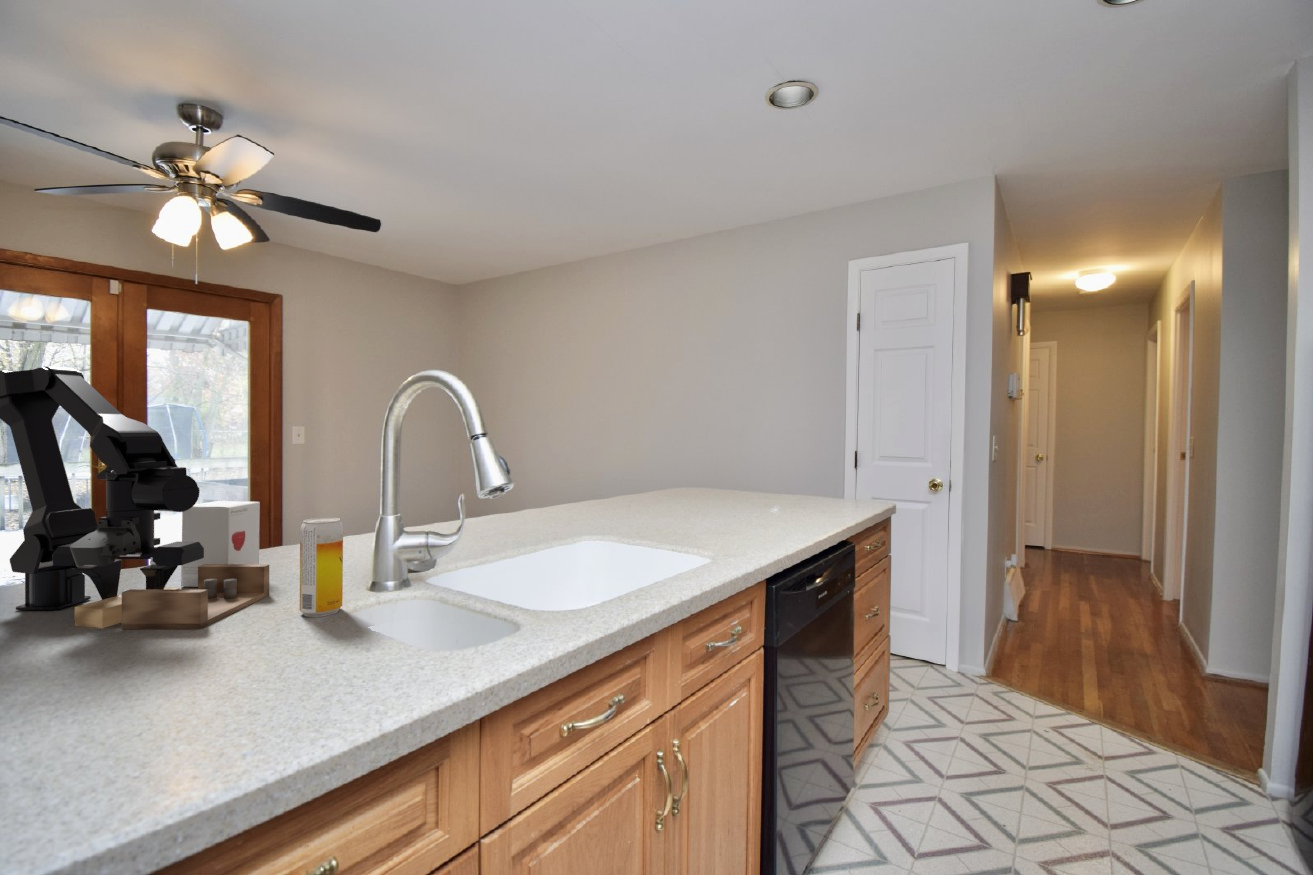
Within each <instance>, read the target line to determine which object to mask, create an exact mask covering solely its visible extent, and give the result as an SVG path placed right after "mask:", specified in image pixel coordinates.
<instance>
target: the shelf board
mask: <svg viewBox="0 0 1313 875" xmlns="http://www.w3.org/2000/svg"><path fill="white" fill-rule="evenodd" d="M164 589H170V590H181V589H180V587H166V586H165V587H164ZM118 623H119V624H122V594H120V595H117V596H115V597H111V598H108V599H104V600H102V599H101V600H97V601H91V602H88V603H85V604H81V605H77V606H74V626H75V627H84V628H93V627H96V628H95V629H105V628H108V627H111V626H115V625H119V624H118ZM97 627H98V628H97ZM104 627H105V628H104Z"/></svg>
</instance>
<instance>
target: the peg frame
mask: <svg viewBox="0 0 1313 875" xmlns="http://www.w3.org/2000/svg"><path fill="white" fill-rule="evenodd" d="M121 595H122V623H121V630H200V629H201V630H202V629H203V628H205V627H208V626H209V625H211V624H213V623H216V622H217V621H219V620H221V619H223V618H225V617H228V616H229V615H231V614H233V613H235V612H238V611H240V610H242V609H244V608H246V607H248V606H249V605H252V604H254V603H256V602H257V601H259V600H262V599H264V598H266V597H267V596H270V564H260V563H259V564H204V565H201V566H198V587H197V589H180V590H170V589H146V588H143V589H142V588H139V589H128V590H127V589H126V591H122V592H121Z"/></svg>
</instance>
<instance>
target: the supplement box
mask: <svg viewBox="0 0 1313 875" xmlns="http://www.w3.org/2000/svg"><path fill="white" fill-rule="evenodd" d="M260 503H261V502H260V501H250V500H249V501H243V500H241V501H239V500H238V501H237V500H215V501H208V502H202V503H195V505H194V506H193V507H192V508H190V509H189V510H186V511H184V512H181V513H182V514H181V517H182V518H181V522H182V524H181V525H182V526H181V534H182V535H181V542H200V544H201V545H202V546H203V548H204V558H202V559H199V560H196V561H193V562H190V563H187V564H184V565H180V567H181V569H180V571H181V572H180V577H181V578H180V586H181V587H187V588H189V587H191V588H198V566H201V565H204V564H260V520H261V519H260V516H261V515H260V514H261V513H260V512H261V509H260V508H261V507H260V506H261V504H260Z"/></svg>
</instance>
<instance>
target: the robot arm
mask: <svg viewBox="0 0 1313 875" xmlns="http://www.w3.org/2000/svg"><path fill="white" fill-rule="evenodd" d="M60 407H61V408H62V409H63V410H64V411H65V412H66V413H67V414H68V415H69V416H70V417H71V418H72V419H73V420H75V421H76V422H77V423H78V424H79V425H80V426H81V427H82V428H83V429H84V430H85V431H86V432H87V433H88V435H89V436H90V441H89V448H90V449H91V450H92V451H93V453H94V454H95V455H96V457H97V458H98V460H99V461H100V462H101V463H102V464H103V465H105V466H106V467H105V468H104V469H103V470H102V471H100V472H98V473H97V475H96V477H95V478H96V479H97V480H104V481H105V483H106V484H105V488H106V489H105V496H106V498H105V500H106V501H105V502H106V503H105V511H106V512H105V516H102V517H98V521H97V520H96V513H95V511H94V510H93V508H91V507H87V508H82V507H81V506H80V505H79V504H78V503H77V502H75V500H74V496H73V494H72V493H73V492H72V490H71V486H70V482H69V479H68V474H67V470H66V467H65V464H64V459H63V457H62V452H61V448H60V446H59V445H60V444H59V442H58V439H57V434H56V431H55V427H54V423H53V418H54V417H55V415H56V413H57V412H58V409H59V408H60ZM0 420H1V421H2V422H4V423H5V424H6V425H7V426H8V427H9V428H10V431H11V435H12V440H13V442H14V446H15V450H16V454H17V457H18V461H19V465H20V469H21V471H22V475H23V480H24V482H25V487H26V491H27V494H28V498H29V502H30V506H31V511H32V512H31V514H30V516H29V518H28V519H27V521H26V522H25V525H24V527H23V531H22V532H23V537H24V538H23V539H24V540H23V542H22V543H21V544H20V545H19V547H18V548H17V549H16V551H15V552H14V553H13V554H12V555H11V557H10V558H9V564H10V568H11V571H12V573H19V574H24V590H25V591H24V603H23V604H20V605H17V606H15V610H16V611H56V610H62V609H64V608H69V607H70V606H74V605H76V604H79V603H80V604H81V603H83V602H86V601H88V600H91V599H92V598H91V597H92V596H91V595H86V576H87V577H89V578H90V581H92V583H93V584H94V586H95V588H96V590H97V592H98V594H99V596H100V598H101V600H104V599H108V598H111V597H115V596H118V593H119V591H118V590H119V586H120V578H121V570H122V563H123V560H150V564H149V565H147V566H144V567H141V568H139V570H140V572H141V573H142V574H143V575H144V576H145V589H164V587H166V586H167V584H168V582H169V580H170V578H171V577H172V576H173V574H174V573H175V571H176V569H177V568H178V567H179V566H181V565H184V564H187V563H190V562H193V561H196V560H199V559H202V558H204V548H203V546H202V545H201V544H200V542H182V541H174V542H170V543H166V544H162V545H161V537H155V521H157V520H161V512H174V513H182V512H184V511H186V510H189V509H190V508H192V507H193V506H194V505H195V504H197V501H199V498H200V491H201V490H200V487H199V486H198V483H197V481H196V480H195V479H194V478H193V477H192V476H190V475H187V474H188V473H187V472H188V471H187V467H182V466H178V464H177V463H176V459H175V458H174V456H172V455H171V453H170V451H169V449H168V447H167V446H166V444H165V442H164V439H163V437H162V435H161V434H160V433H159V432H158V431H157V430H156V429H153V428H152V427H151V426H149V425H147V424H145V423H144V422H141V421H139V420H136V419H132V418H129V417H126V415H124V414H122V413H121V412H120V411H119V410H118V409H117V408H115V406H113V405H112V404H111V403H110V401H108V400H107V399H106V398H105V397H104V396H103V395H101V393H99V391H97V389H95V388H94V387H93V386H92V385H91V383H89V382H88V381H87V380H85V377H84V374H83V373H82V371H80V370H77V369H75V368H69V367H59V366H57V367H56V366H47V365H46V366H42V367H36V368H33V369H23V370H15V371H14V370H1V369H0ZM156 511H158V512H156Z"/></svg>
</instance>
